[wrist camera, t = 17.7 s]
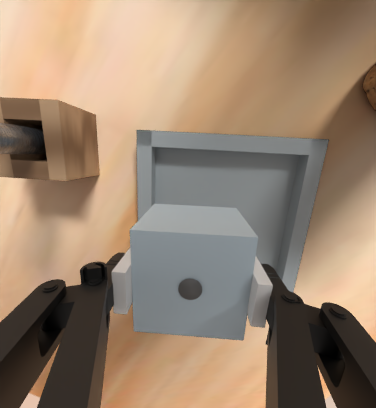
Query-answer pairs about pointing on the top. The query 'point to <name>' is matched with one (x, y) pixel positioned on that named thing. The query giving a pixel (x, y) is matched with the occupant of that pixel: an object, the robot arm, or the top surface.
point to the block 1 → (192, 271)
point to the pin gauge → (21, 140)
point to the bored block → (52, 140)
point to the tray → (238, 184)
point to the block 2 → (371, 86)
